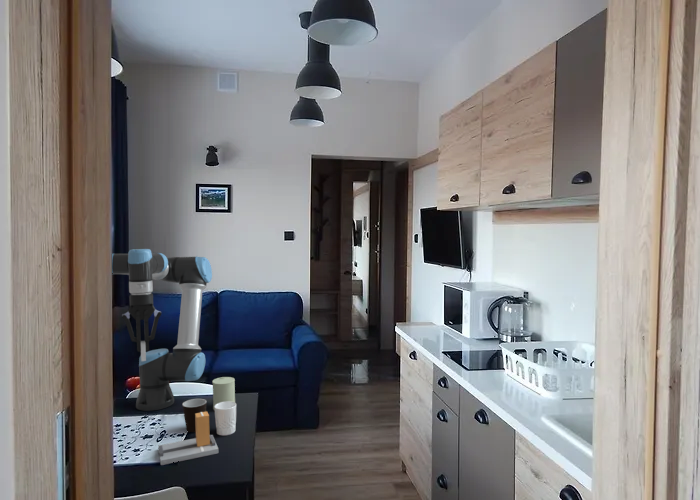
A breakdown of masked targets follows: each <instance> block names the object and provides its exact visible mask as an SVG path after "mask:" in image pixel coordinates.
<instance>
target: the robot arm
mask: <svg viewBox="0 0 700 500" xmlns="http://www.w3.org/2000/svg"><path fill="white" fill-rule="evenodd" d="M111 254H112V273H113V274H112V275H127V276H128V292H129V293H130V294H129V297H128V298H129V307H128V310H127V312H125V313H122V314H121V318H122V319H123V322H125V325H126V328H127V332H128V334H129V338H130V340H131V342H134V343H136V351H137V352H138V353H140V356H139V358H138V359H139V360H138V361H139V362H138V363H139V364H138V367H139V371H138V373H139V391H138V395H137V398H136V401H135V402H136V403H135V408H136V409H137V410H139V411H143V412H144V411H145V412H149V411H150V412H151V411H159V410H163V409H166V408H169V407H170V406H172V405H174V403H175V396H174V393H173V390H172V388H171V386H170V382H192V381H193V382H194V381H197V380H199V379H200V378H201V377H202V375H203V373H204V371H205V366H206V355H205V354H204V352H202V348H201V346H200V345H199V339H200V327H201V326H200V325H201V313H202V302H203V301H202V300H203V291H204V290H205V289H206V288H207V284H209V283H211V281H212V279H213V271H212V270H213V269H212V265H211V263H210V261H209V259H208V258H207V257H204V256H198V255H196V256H172V257H167V256H166V255H165V254H163V253H161V252H152V250H151V249H150V248H136V249H129V251H128V253H111ZM154 280H155V281H162V282H168V283H172V284H173V283H174V284H175V283H178V286H179V287H180V289H181V301H180V309H179V310H180V312H179V313H180V314H179V321H178V322H179V323H178V333H177V344H176V345H175V346H174V347H173V348H172V352H170V351H169V349H168V348H158V349H152V350H150V341H152V340H154V339H155V336H156V332H157V329H158V328H157V327H158V323H159V319H160V318H161V316H162V311H161V310H157V309H156V307H155V306H154V293H152V292H153V291H154V287H153V286H154V285H153V281H154ZM152 315H153V316H154V320H153V324H152V328H151V332H149V319H151V318H150V317H152ZM131 317H132V318H133V319H134V321H135V322H136V337H135V333H134V331H133V330H134V329H133V327H132V324H131V320H130V318H131ZM142 320H143V321H144V322H143V325H144V340H142V339H141V338H142V336H141V334H142V333H141V331H142V330H141V321H142ZM149 333H150V335H149Z"/></svg>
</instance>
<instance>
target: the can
mask: <svg viewBox="0 0 700 500" xmlns="http://www.w3.org/2000/svg"><path fill="white" fill-rule="evenodd" d="M211 381H212V401H213V402H212V404H213V405H212V410H213V411H215V409H214V406H215V405H216V404H218V403H221V402H227V401H230V402H235V403H236V393H235V392H236V390H235V387H236V386H235V385H236V384H235V381H236V380H235V378H234V377H231V376H222V377H217V378H214V379H213V380H211Z"/></svg>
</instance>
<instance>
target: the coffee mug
mask: <svg viewBox="0 0 700 500" xmlns="http://www.w3.org/2000/svg"><path fill="white" fill-rule="evenodd" d="M207 402H208V401H207V399H204V398H192V399H188V400H186V401H183V402H182V409H183V416H184V424H185V429H186V430H187V431H188V432H187V431H186V430H185V431H186V432H187V433H190V432H195V433H196V424H195V413H200V412H207Z"/></svg>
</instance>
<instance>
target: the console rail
mask: <svg viewBox="0 0 700 500" xmlns="http://www.w3.org/2000/svg"><path fill="white" fill-rule="evenodd" d="M157 449H159V450H158V455H159V462H160V466H164V465H169V464H174V463H177V462H178V461H179V462H183V461H187V460H188V461H189V460H193V459H197V458H202V457H203V458H204V457H207V456H213V455H216V454H219V447H218V445H217V442H216V440H215V437H214V434H210V444H209V445H204V446H199V447H198V446H197V443H196V437H194V438H190V439H185V440H179V441H175V442H169V443H164V444H159V445H158V447H157ZM173 462H174V463H173Z"/></svg>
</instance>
